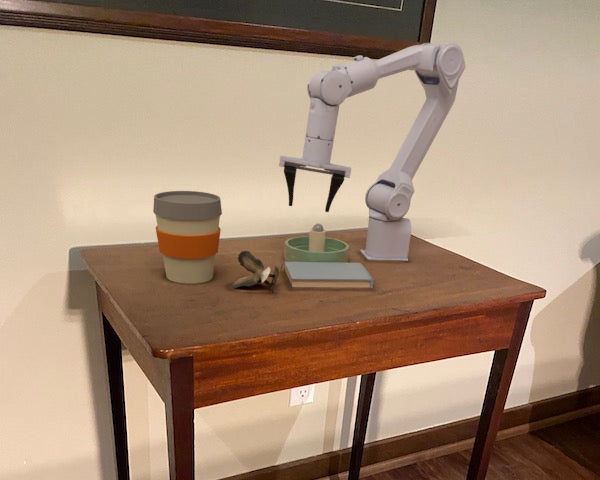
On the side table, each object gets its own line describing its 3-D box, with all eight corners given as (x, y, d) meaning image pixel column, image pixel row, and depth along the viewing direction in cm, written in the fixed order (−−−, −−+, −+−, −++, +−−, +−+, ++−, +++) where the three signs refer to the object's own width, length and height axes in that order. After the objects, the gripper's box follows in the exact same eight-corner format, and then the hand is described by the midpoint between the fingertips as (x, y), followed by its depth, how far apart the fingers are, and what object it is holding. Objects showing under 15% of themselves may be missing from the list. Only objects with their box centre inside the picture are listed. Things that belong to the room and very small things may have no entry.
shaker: (322, 257, 136) (324, 221, 132) (325, 262, 133) (328, 225, 129) (306, 257, 135) (308, 221, 131) (309, 262, 132) (311, 225, 128)
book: (359, 273, 129) (360, 262, 128) (372, 290, 119) (374, 279, 118) (283, 272, 126) (284, 261, 125) (291, 289, 117) (291, 278, 116)
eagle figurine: (282, 277, 119) (238, 263, 120) (284, 253, 113) (238, 238, 113) (269, 307, 116) (224, 293, 116) (271, 284, 109) (223, 269, 110)
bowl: (339, 254, 141) (341, 236, 139) (353, 272, 129) (355, 253, 127) (280, 253, 139) (281, 235, 137) (288, 271, 127) (289, 252, 125)
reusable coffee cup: (177, 263, 127) (174, 188, 120) (232, 272, 124) (233, 195, 117) (144, 280, 117) (138, 198, 109) (203, 290, 113) (202, 207, 106)
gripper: (282, 133, 119) (273, 205, 124) (356, 145, 119) (343, 217, 125) (284, 131, 125) (275, 200, 131) (354, 143, 125) (342, 211, 131)
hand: (308, 208), depth 128 cm, fingers open, 7 cm apart
